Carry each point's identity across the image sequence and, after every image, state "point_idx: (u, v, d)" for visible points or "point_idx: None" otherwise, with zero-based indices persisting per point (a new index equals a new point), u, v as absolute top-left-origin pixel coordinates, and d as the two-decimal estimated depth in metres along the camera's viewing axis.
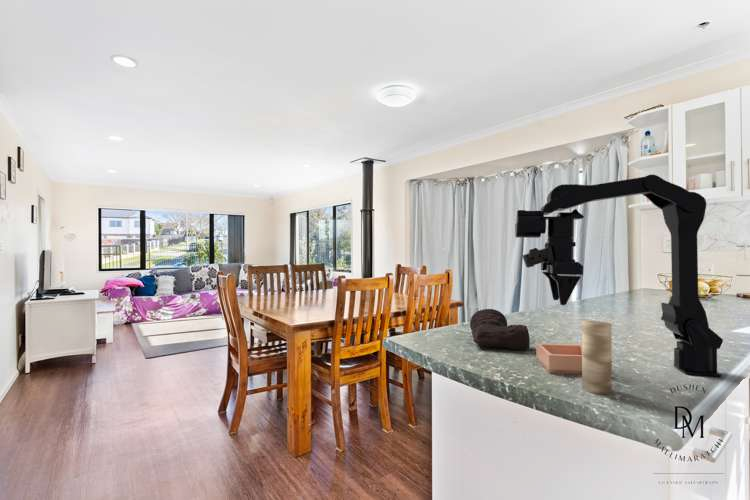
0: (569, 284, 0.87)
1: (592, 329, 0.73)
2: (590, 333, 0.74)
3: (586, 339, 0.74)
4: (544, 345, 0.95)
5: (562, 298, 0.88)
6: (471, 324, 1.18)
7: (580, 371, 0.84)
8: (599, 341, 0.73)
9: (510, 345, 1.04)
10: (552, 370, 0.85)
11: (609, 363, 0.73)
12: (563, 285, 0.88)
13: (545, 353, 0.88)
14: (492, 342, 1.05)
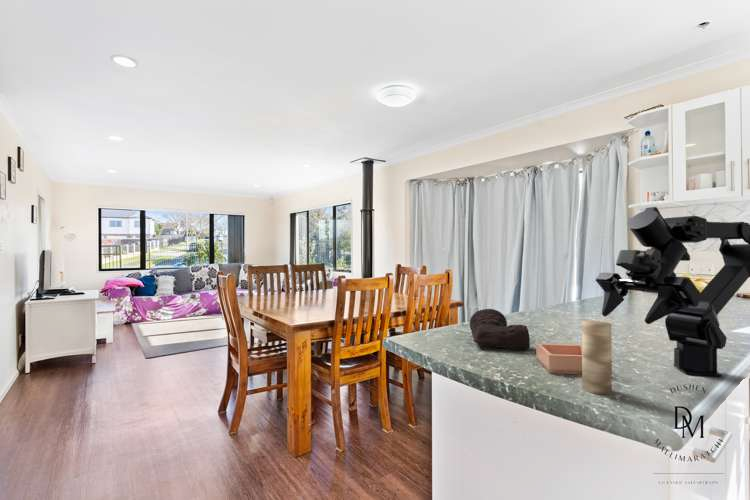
0: (668, 307, 0.74)
1: (592, 329, 0.73)
2: (590, 333, 0.74)
3: (586, 339, 0.74)
4: (544, 345, 0.95)
5: (652, 316, 0.74)
6: (471, 324, 1.18)
7: (580, 371, 0.84)
8: (599, 341, 0.73)
9: (510, 345, 1.04)
10: (552, 370, 0.85)
11: (609, 363, 0.73)
12: (663, 304, 0.74)
13: (545, 353, 0.88)
14: (492, 342, 1.05)
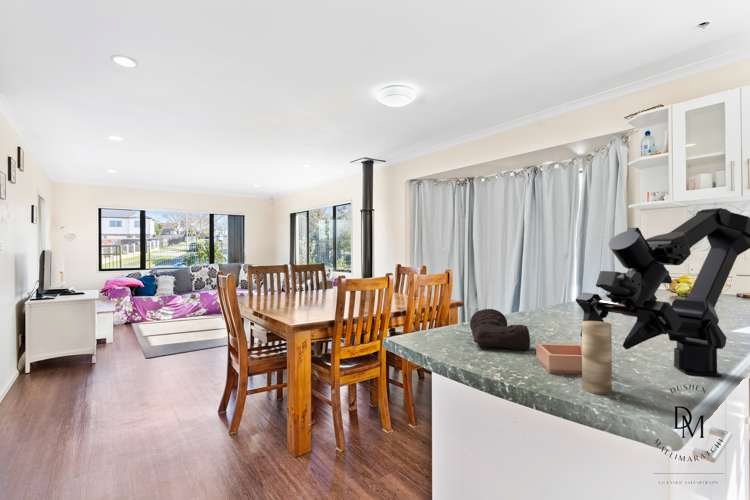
0: (647, 332, 0.72)
1: (592, 329, 0.73)
2: (590, 333, 0.74)
3: (586, 339, 0.74)
4: (544, 345, 0.95)
5: (631, 341, 0.71)
6: (471, 324, 1.18)
7: (580, 371, 0.84)
8: (599, 341, 0.73)
9: (510, 345, 1.04)
10: (552, 370, 0.85)
11: (609, 363, 0.73)
12: (642, 329, 0.71)
13: (545, 353, 0.88)
14: (493, 342, 1.05)
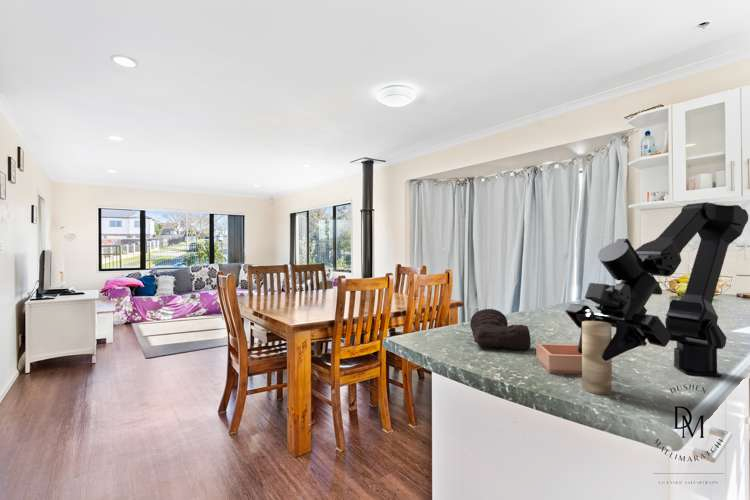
0: (626, 344, 0.72)
1: (592, 329, 0.73)
2: (590, 333, 0.74)
3: (586, 339, 0.74)
4: (544, 345, 0.95)
5: (610, 353, 0.72)
6: (471, 324, 1.18)
7: (580, 371, 0.84)
8: (599, 341, 0.73)
9: (511, 345, 1.04)
10: (552, 370, 0.85)
11: (609, 363, 0.73)
12: (621, 340, 0.72)
13: (545, 353, 0.88)
14: (493, 342, 1.05)
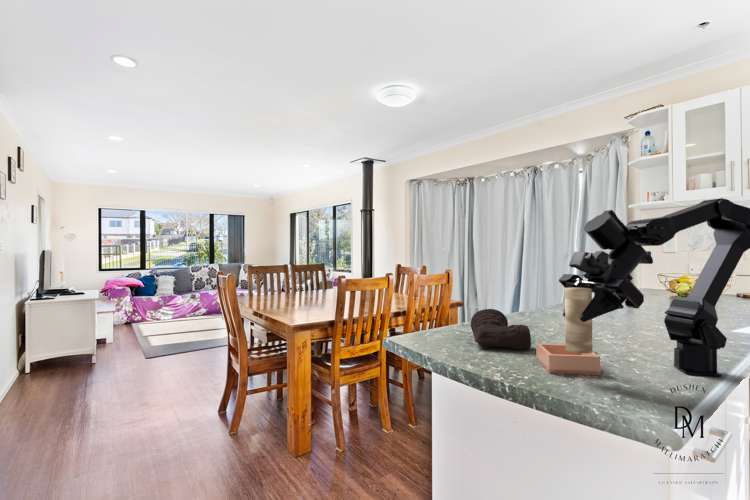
0: (604, 307, 0.78)
1: (571, 293, 0.80)
2: (570, 297, 0.80)
3: (567, 303, 0.81)
4: (544, 345, 0.95)
5: (587, 315, 0.78)
6: (472, 324, 1.17)
7: (580, 371, 0.84)
8: (577, 304, 0.79)
9: (511, 345, 1.04)
10: (552, 370, 0.85)
11: (588, 325, 0.79)
12: (599, 303, 0.78)
13: (545, 353, 0.88)
14: (494, 342, 1.05)
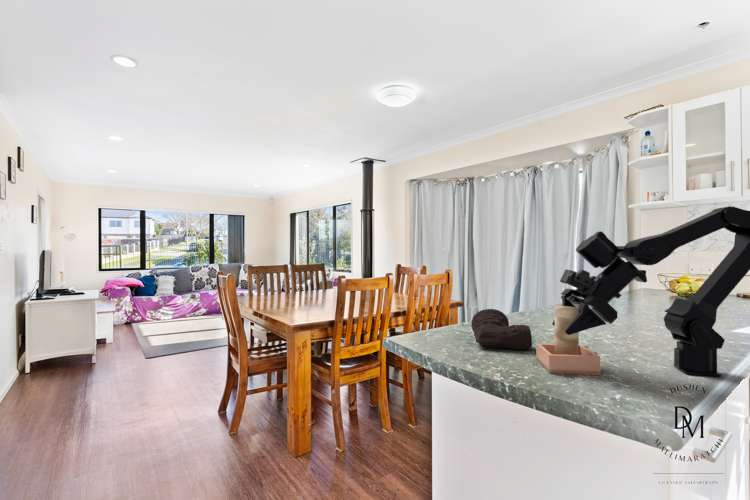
0: (589, 322, 0.84)
1: (557, 311, 0.89)
2: (556, 315, 0.89)
3: (555, 320, 0.90)
4: (544, 345, 0.95)
5: (571, 328, 0.85)
6: (473, 324, 1.17)
7: (580, 371, 0.84)
8: (562, 321, 0.88)
9: (512, 345, 1.04)
10: (552, 370, 0.85)
11: (572, 341, 0.87)
12: (583, 319, 0.84)
13: (545, 353, 0.88)
14: (494, 342, 1.05)
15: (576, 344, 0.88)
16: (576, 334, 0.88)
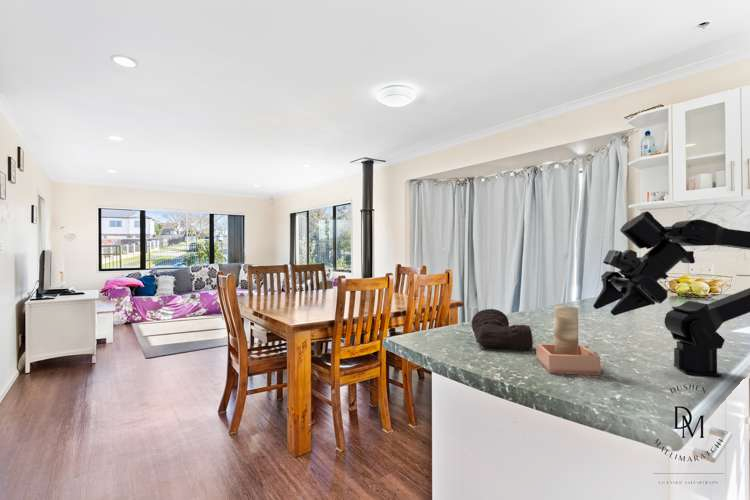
0: (636, 302, 0.82)
1: (557, 311, 0.89)
2: (556, 315, 0.90)
3: (554, 320, 0.90)
4: (544, 345, 0.95)
5: (617, 309, 0.83)
6: (473, 324, 1.17)
7: (580, 371, 0.84)
8: (561, 322, 0.88)
9: (513, 345, 1.04)
10: (552, 370, 0.85)
11: (571, 341, 0.87)
12: (630, 299, 0.82)
13: (545, 353, 0.88)
14: (495, 342, 1.05)
15: (576, 344, 0.88)
16: (576, 334, 0.88)
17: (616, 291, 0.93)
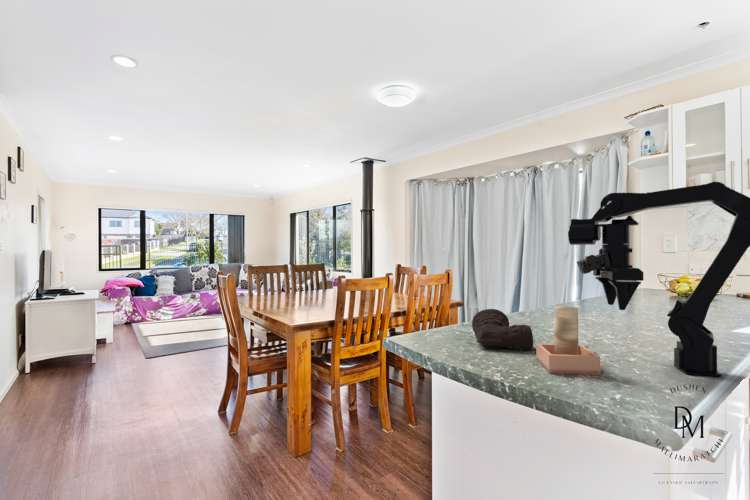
0: (628, 289, 0.90)
1: (557, 311, 0.89)
2: (556, 315, 0.90)
3: (554, 320, 0.90)
4: (544, 345, 0.95)
5: (621, 304, 0.91)
6: (473, 324, 1.17)
7: (580, 371, 0.84)
8: (561, 322, 0.88)
9: (514, 345, 1.04)
10: (552, 370, 0.85)
11: (571, 341, 0.87)
12: (622, 290, 0.90)
13: (545, 353, 0.88)
14: (496, 342, 1.05)
15: (576, 344, 0.88)
16: (576, 334, 0.88)
17: (613, 279, 1.00)
